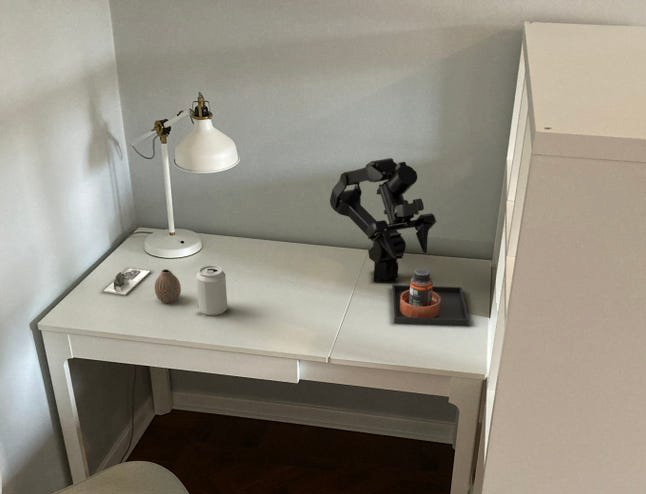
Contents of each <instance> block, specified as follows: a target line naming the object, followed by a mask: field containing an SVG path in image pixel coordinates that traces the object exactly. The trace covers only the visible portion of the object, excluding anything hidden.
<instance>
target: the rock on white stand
mask: <svg viewBox="0 0 646 494" xmlns="http://www.w3.org/2000/svg"><path fill="white" fill-rule="evenodd" d="M150 273H151V271H150V270H146V269H145V270H144V269H137V268H131V267H130V268H128V269H126V270H125V271H124V272H123V273H122V272H120V271H119V272H118V273H117V274H116V275H115V279H114V281H112V283H110V284H109V285H108V286H107V287H106V288H105V289H104V290H103V293H107V294H113V295H114V294H115V295H121V296H127V295H128V294H129V293H131V291H132V290H133V289H134V288H136V287H137V286H138V285H139V284H140V282H142V281H143V280H144V279H145V278H146V277H147V276H148V275H149V274H150Z"/></svg>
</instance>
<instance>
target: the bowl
mask: <svg viewBox="0 0 646 494" xmlns="http://www.w3.org/2000/svg"><path fill="white" fill-rule="evenodd" d="M409 298H410V290H407V291H405V292H403V293H402V294H401V296H400V311H401V313H402V314H403V315H405V316H407V317H416V318H434V317H436V316H437V315H438V314H439V312H440V305H441V297H440V296H439V295H438V294H437V293H435V292H433V291H432V301H431V306H426V307H419V306H413V305H410V304H409Z"/></svg>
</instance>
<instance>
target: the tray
mask: <svg viewBox="0 0 646 494" xmlns="http://www.w3.org/2000/svg"><path fill="white" fill-rule="evenodd" d="M407 290H410V285H409V284H408V285H407V284H405V285H404V284H392V287H391V295H392V315H393V324H396V325H397V324H399V325H400V324H401V325H427V326H428V325H430V326H456V327H457V326H458V327H460V326H461V327H468V326H469V322H470V319H469V315H468V310H467V305H466V301H465V296H464V292H463V287H462V286H444V285H443V286H441V285H439V286H438V285H433V289H432V291H433V292H435V293H437V294H438V295H439V296H440V297H441V305H440V312H439V314H438V315H437V316H436V317H434V318H416V317H407V316H405V315H403V314H402V313H401V311H400V296H401V294H402V293H403V292H405V291H407Z"/></svg>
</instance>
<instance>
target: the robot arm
mask: <svg viewBox="0 0 646 494" xmlns="http://www.w3.org/2000/svg"><path fill="white" fill-rule="evenodd" d="M417 181H418V173H417V170H415V169H414V168H413V167H412V166H410V165H407V163H406V161H400V162H398V163H397V162H395V161H394V158H392V157H388V158H381V159H378V160H371V161H369V162H368V163H366V164H365V167H362V168H358V169H354V170H350V171H343V172H342V173H341V174H340V177H339V180H338V181H337V183H336V184H335V185H334V187H333V188H332V189H331V194H330V197H329V204H330V207H331V209H332V210H333V211H334V212H335V213H337V214H338V215H339V216H340V215H341V216H344V217H348V218H349V219H350V220H351V221H352V222H353V223H354V224H355V225H356V226H357V228H359V229H360V230H361V231H362V232H363V233H364V234H365V235H366V236H367V240H370V241H371V242H372V247H371V248H369V250H368V251H367V253H368V258H369V259H370V260H371V261H372V262H373V264H374V265H373V272H372V277H373V278H372V280H373V283H386V284H387V283H389V284H391V283H393V284H395V283H397V279H398V278H399V261H398V260H401V259H402V260H403V257H404V254H405V251H406V248H407V243H406V240H405V239H404V237H403V236H402V233H401V232H399V230H406V229H413V228H414V230H416V232H415V236H416V238H417V240H418V243H419V245H420V248H421V251H422V252H423V254H427V252H428V238H429V231H430V229H432V227H433V226H434V225H435V224H436V223H437V222H438V221H437V218H436V216H435V214H433V213H424V214H420V212H421V211H424V210H425V206H424V205H425V204H424V202H423V199H422V198H415V199H413V200H412V202H410V203H409V201H408V200H407V199H405V197H404V194H406V193H407V192H408V191H409V189H411V187H413V185H414V184H416V182H417ZM364 182H369V183H379V182H382V184H378V187H377V189H376V195H380V197H381V200H382V204H383V206H384V207H383V208H384V210H383V214H384V215H386V217H387V220H388V222H387V221H386V220H385V219H382V220H377V219H375V218H374V216H373V215H372V214H370V213H369V211H368V210H366V209H365V208H364V206H363V205H362V204H361V203H362V194H363V192H362V189H361V186H360V184H361V183H364ZM348 186H349V187H350V186H354V188H353V189H347V187H348ZM346 189H347V190H346ZM417 215H418V217H417V218H416V219H414V218H415V216H417Z"/></svg>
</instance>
